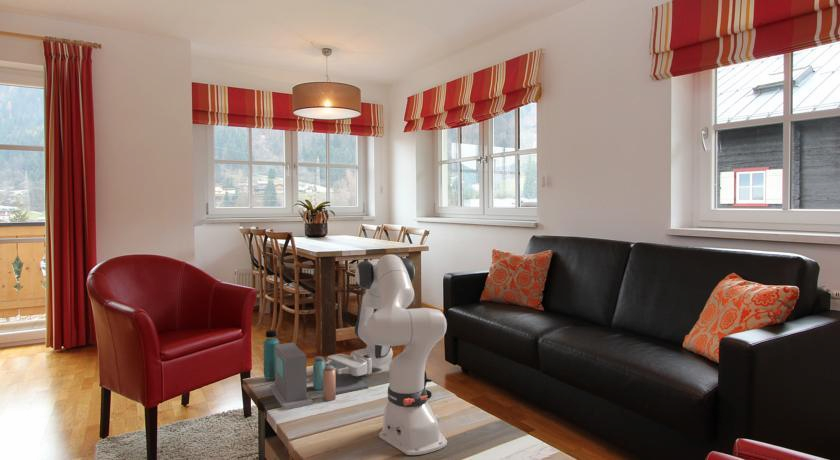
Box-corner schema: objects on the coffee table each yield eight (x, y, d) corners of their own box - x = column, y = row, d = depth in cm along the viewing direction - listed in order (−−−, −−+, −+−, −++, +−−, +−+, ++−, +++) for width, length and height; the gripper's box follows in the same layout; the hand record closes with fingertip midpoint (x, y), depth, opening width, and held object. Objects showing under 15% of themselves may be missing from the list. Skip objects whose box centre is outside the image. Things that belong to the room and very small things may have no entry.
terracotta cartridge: (337, 399, 181) (337, 367, 181) (325, 402, 179) (325, 369, 178) (333, 395, 185) (333, 363, 185) (321, 397, 183) (321, 365, 182)
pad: (368, 388, 193) (368, 385, 192) (336, 394, 186) (336, 391, 186) (355, 377, 204) (355, 375, 204) (325, 383, 197) (325, 380, 197)
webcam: (414, 391, 190) (414, 365, 189) (433, 393, 188) (433, 367, 188) (409, 399, 182) (409, 372, 182) (429, 401, 181) (429, 374, 180)
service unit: (312, 404, 177) (312, 356, 176) (284, 410, 172) (283, 360, 171) (295, 384, 196) (295, 340, 195) (269, 388, 191) (269, 344, 190)
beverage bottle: (277, 382, 198) (277, 333, 197) (261, 382, 198) (260, 332, 197) (282, 376, 205) (281, 328, 203) (266, 376, 205) (265, 328, 204)
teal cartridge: (326, 388, 192) (326, 358, 191) (315, 390, 190) (315, 360, 189) (322, 384, 196) (322, 355, 195) (311, 386, 194) (311, 356, 193)
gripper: (343, 348, 213) (315, 355, 203) (373, 359, 198) (345, 367, 188) (343, 362, 213) (316, 370, 203) (373, 374, 198) (345, 383, 189)
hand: (330, 368), depth 196 cm, fingers open, 8 cm apart
